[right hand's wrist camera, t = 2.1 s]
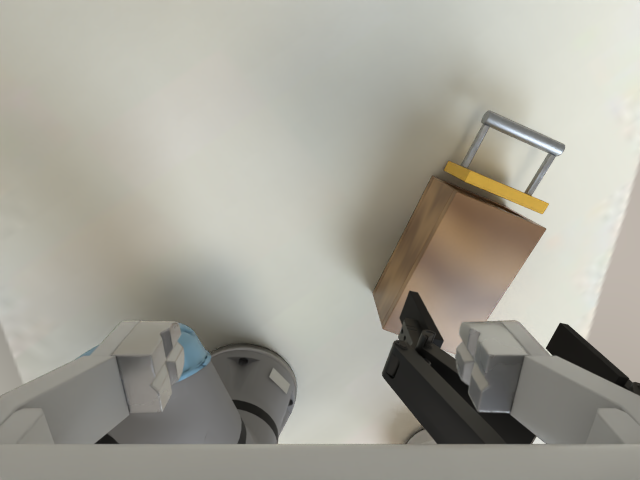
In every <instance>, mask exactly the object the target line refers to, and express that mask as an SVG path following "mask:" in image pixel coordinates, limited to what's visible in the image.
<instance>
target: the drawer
mask: <svg viewBox="0 0 640 480" xmlns="http://www.w3.org/2000/svg"><path fill="white" fill-rule="evenodd" d="M482 124H483V125H482V127H481V128H480V130H479V132H478V134H477V136H476V138H475V140H474V142H473V144H472V145H471V147H470V149H469V151H468V153H467V155H466V157H465V159H464V160H463V162H462V164H461V166H460V165H457V164H455V163H453V162H450V161H448V163H447V165H446V167H445V169H444V171H446V172H447V173H449V174H451V175H453V176H455V177H457V178H459V179H461V180H462V181H464V182H467V183H469V184H471V185H474V186H476V187H478V188H481V189H483V190H486V191H488V192H490V193H493V194H495V195H498V196H500V197H502V198H505V199H507V200H510V201H512V202H514V203H517V204H519V205H521V206H524V207H526V208H529V209H531V210H533V211H536V212H538V213H541V214H543V213H544V211H545V210H546V208H547V206H548V205H549V204H548V203H546V202H544V201H542V200H539V199H537V198H535V197H532V196H531V195H532V194H533V192H534V191H535V189H536V187H537V186H538V184H539V183H540V181H541V179H542V178H543V176H544V175H545V173H546V171H547V170H548V168H549V166H550V165H551V163H552V162H553V160H554V158H555V157H556V156H559V155H560V154H562V153H563V151H564V149H565V145H564V144H563V143H560V142H558V141H556V140H554V139H552V138H549V137H547V136H545V135H543V134H540V133H538V132H536V131H534V130H532V129H529V128H527V127H525V126H523V125H521V124H518V123H516V122H514V121H512V120H510V119H507V118H505V117H503V116H501V115H499V114H496V113H494V112H492V111H487V112H486V113H485V114H484V116H483V118H482ZM489 127H491V128H493V129H496V130H498V131H500V132H502V133H505V134H507V135H509V136H511V137H514V138H516V139H518V140H520V141H523V142H525V143H527V144H529V145H532V146H534V147H536V148H538V149H540V150H543V151H545V152H547V153H549V154H548V155H547V156H546V158H545V160H544V161H543V163H542V165H541V166H540V168H539V169H538V171H537V173H536V174H535V176H534V178H533V179H532V181H531V183H530V184H529V186H528V188H527V189H526V191H525V193H523V192H521V191H519V190H516V189H514V188H512V187H509V186H507V185H505V184H502V183H500V182H497V181H495V180H493V179H490V178H488V177H486V176H483V175H481V174H479V173H476V172H474V171H472V170H469V169H467V168H468V166H469V164H470V162H471V161H472V159H473V157H474V155H475V153H476V151H477V149H478V148H479V146H480V144H481V142H482V140H483V138H484V136H485V135H486V133H487V131H488V129H489ZM458 191H459V190H458ZM459 192H461V191H459ZM461 193H463V194H465V195H468V194H466V193H464V192H461ZM468 196H470V197H473V196H471V195H468ZM473 198H475V199H477V200H480V201H482V202H485V201H483V200H481V199H478V198H476V197H473ZM485 203H487V204H490V203H488V202H485ZM490 205H492V206H494V207H497V206H495V205H493V204H490ZM497 208H499V209H502V208H500V207H497ZM502 210H503V209H502ZM504 211H505V210H504ZM506 212H507V211H506Z"/></svg>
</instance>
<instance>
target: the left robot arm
mask: <svg viewBox="0 0 640 480" xmlns="http://www.w3.org/2000/svg"><path fill="white" fill-rule="evenodd" d="M399 318H400V321H401V324H402V327H401V330H400V333H399V336H398V337H399V340H396V341H394V343H393V345H392V348H391V351H390V353H389V356H388V359H387V361H386V364H385V367H384V369H383V372H382V376H383V378H384V379H385V380H386V381H387V383H388V384H389V385H390V386H391V388H392V389H393V390H394V391H395V393H396V394H397V395H398V396H399V398H400V399H401V400H402V401H403V402H404V404H405V405H406V406H407V407H408V409H409V410H410V411H411V412H412V414H413V415H414V416H415V417H416V418H417V420H418V421H419V422H420V423H421V425H422V426H423V427H424V428H425V430H426V431H427V432H428V433H429V435H430V436H431V437H432V438H433V439H434V441H435V442H436V443H437V444H532V443H533V442H534V440H535V438H536V437H537V436H536V435H535V434H533V433H532V432H531V431H530V430H529V429H527V428H526V427H525V426H524V425H522V424H521V423H520V422H519V421H518V420H516V419H515V418H514V417H513V416H511V415H510V414H511V413H489V412H478V411H477V410H476V408H475V406H474V404H473V402H472V400H471V398H470V396H469V394H468V389H469V386H468V385H467V384H465V383H464V382H462V381H461V379H460V377H459V374H458V371H457V368H456V359H455V358H453V357H452V356H450V355H449V354H447V353H446V352H445V351H443V350H442V349H441V346H442V344H443V342H444V340H443V338H442V336H441V334H440V332H439V330H438V328H437V327H436V325H435V323H434V321H433V319H432V317H431V315H430V314H429V312H428V310H427V308H426V306H425V304H424V302H423V301H422V299H421V297H420V295H419V293H418V292H414V291H409V293H408V296H407V298H406V301H405V304H404V307H403V309H402V312H401V315H400V317H399ZM178 324H179V325H180V330H181V336H180V337H179V339H178V342H179V343H180V344H181V345H182V346H183V348H184V367H183V371H182V374H181V376H180V379H179V381H178V382H176V383H175V384H173V385H172V386H171V389H172V394H171V396H170V398H169V400H168V402H167V404H166V406H165V408H164V410H163V412H150V413H129V416H127V417H126V418H125V419H124V420H123V421H121V422H120V423H119V424H118V425H117V426H115V427H114V428H113V429H112V430H110V431H109V432H108V433H107V434H106V435H104V436H103V437H102V438H101V439H99V440H98V441H97V442H96V443H95V444H278V437H279V435H280V433H281V431H282V429H283V427H284V425H285V424H286V422H287V420H288V418H289V416H290V414H291V412H292V410H293V407H294V403H295V400H296V390H297V385H296V379H295V376H294V373H293V371H292V369H291V368H290V366H289V365H288V364H287V363H286V362H285V360H284V359H282V358H281V357H280V356H279V355H277V354H276V353H274V352H272V351H270V350H268V349H266V348H263V347H260V346H256V345H250V344H234V345H228V346H225V347H222V348H219V349H217V350H215V351H213V352H212V353H209V352H208V351H207V350H205V349H204V347H203V345H202V344H201V342H200V340H199V339H198V337H197V335H196V334H195V332H194V331H193V330H192V329H191V328H190V327H188V326H186V325H184V324H181V323H178ZM98 346H99V345H98ZM98 346H96V347H94V348H92V349H91V350H89V351H87V352H86V353H84V354H83V355H81V356H79V357H78V358H80V357H82V356H90V355H91V353H92V352H93V351H94V350H95V349H96V348H97V347H98ZM546 349H547V350H548V351H549V352H550V353H551V354H552V355H553V356H558V357H560V358H562V359H564V360H566V361H568V362H570V363H572V364H575V365H577V366H579V367H581V368H583V369H585V370H587V371H589V372H591V373H593V374H595V375H597V376H599V377H602V378H604V379H606V380H608V381H610V382H612V383H614V384H616V385H618V386H620V387H622V388H624V389H627V390H629V391H631V392H633V393H635V394H637V395H639V396H640V383H637V382H631V381H630V380H629V378H628V377H627V376H626V375H625V374H624V373H623V372H621V371H620V370H619V369H618V368H617V367H616V366H615V365H613V364H612V363H611V362H610V361H609V360H608V359H607V358H605V357H604V356H603V355H602V354H601V353H600V352H599V351H597V350H596V349H595V348H594V347H593V346H592V345H591V344H589V343H588V342H587V341H586V340H585V339H584V338H583V337H581V336H580V335H579V334H578V333H577V332H576V331H575V330H573V329H572V328H571V327H570V326H569V325H567V324H563V323H560V324H559V325H558V327H557V329H556V331H555V333H554V335H553V336H552V338H551V340H550V342H549V344H548V345H547V347H546ZM78 358H77V359H78ZM75 360H76V359H75Z"/></svg>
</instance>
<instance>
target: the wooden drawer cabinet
mask: <svg viewBox="0 0 640 480" xmlns="http://www.w3.org/2000/svg"><path fill="white" fill-rule="evenodd" d="M458 190H459V191H461V192H464V193H466V194H468V195H471V196H473V197H476V198H478V199H481V200H483V201H485V202H488V203H490V204H493V205H495V206H497V207H500V208H502V209H503V210H502V209H499V208H497V207H494V206H492V205H490V204H487V203H485V202H482V201H480V200H477V199H475V198H473V197H470V196H468V195H465V194H463V193H461V192H459V191H458ZM504 210H505V211H504ZM506 211H507V212H506ZM545 230H546V228H544V227H542V226H541V225H539V224H537V223H535V222H533V221H532V220H530V219H528V218H526V217H524V216H522V215H521V214H519V213H517V212H515V211H513V210H512V209H510V208H508V207H506V206H504V205H501V204H499V203H496V202H494V201H492V200H489V199H487V198H484V197H482V196H480V195H477V194H475V193H472V192H470V191H467V190H465V189H463V188H460V187H458V186H455V185H453V184H451V183H448V182H446V181H443V180H441V179H439V178H436V177H434V176H432V177H431V179H430V181H429V183H428V185H427V187H426V189H425V191H424V193H423V195H422V197H421V199H420V201H419V203H418V205H417V206H416V208H415V210H414V212H413V214H412V216H411V218H410V220H409V222H408V224H407V226H406V228H405V230H404V232H403V234H402V236H401V238H400V240H399V242H398V244H397V246H396V248H395V250H394V252H393V254H392V256H391V258H390V260H389V262H388V263H387V265H386V267H385V269H384V271H383V273H382V275H381V277H380V279H379V281H378V283H377V285H376V287H375V289H374V291H373V296H374V300H375V303H376V307H377V310H378V314H379V318H380V321H381V324H382V328H383V329H384V330H387V331H390V332H392V333H395V334H398V335H399V333H400V330H401V327H402V324H401V321H400V318H399V317H400V315H401V312H402V309H403V307H404V304H405V301H406V298H407V296H408V293H409V291H414V292H418V293H419V295H420V297H421V299H422V301H423V302H424V304H425V306H426V308H427V310H428V312H429V314H430V315H431V317H432V319H433V321H434V323H435V325H436V327H437V328H438V330H439V332H440V334H441V336H442V338H443V340H444V342H443V344H442V346H441V349H442V350H445V351H447V352H450V353H453V354H456V348H457V346H458V345H459V344H460V343H461V342H462V339H461V337H460V336H459V330H460V326H461V324H462V322H481V321H486V320H487V319H488V317H489V316H490V314H491V313H492V311H493V310H494V308H495V307H496V305H497V304H498V302H499V301H500V299H501V298H502V296H503V295H504V293H505V291H506V290H507V288H508V287H509V285H510V284H511V282H512V281H513V279H514V278H515V276H516V275H517V273H518V272H519V270H520V269H521V267H522V266H523V264H524V262H525V261H526V259H527V258H528V256H529V255H530V253H531V252H532V250H533V249H534V247H535V246H536V244H537V243H538V241H539V240H540V238H541V237H542V235H543V234H544V232H545Z"/></svg>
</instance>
